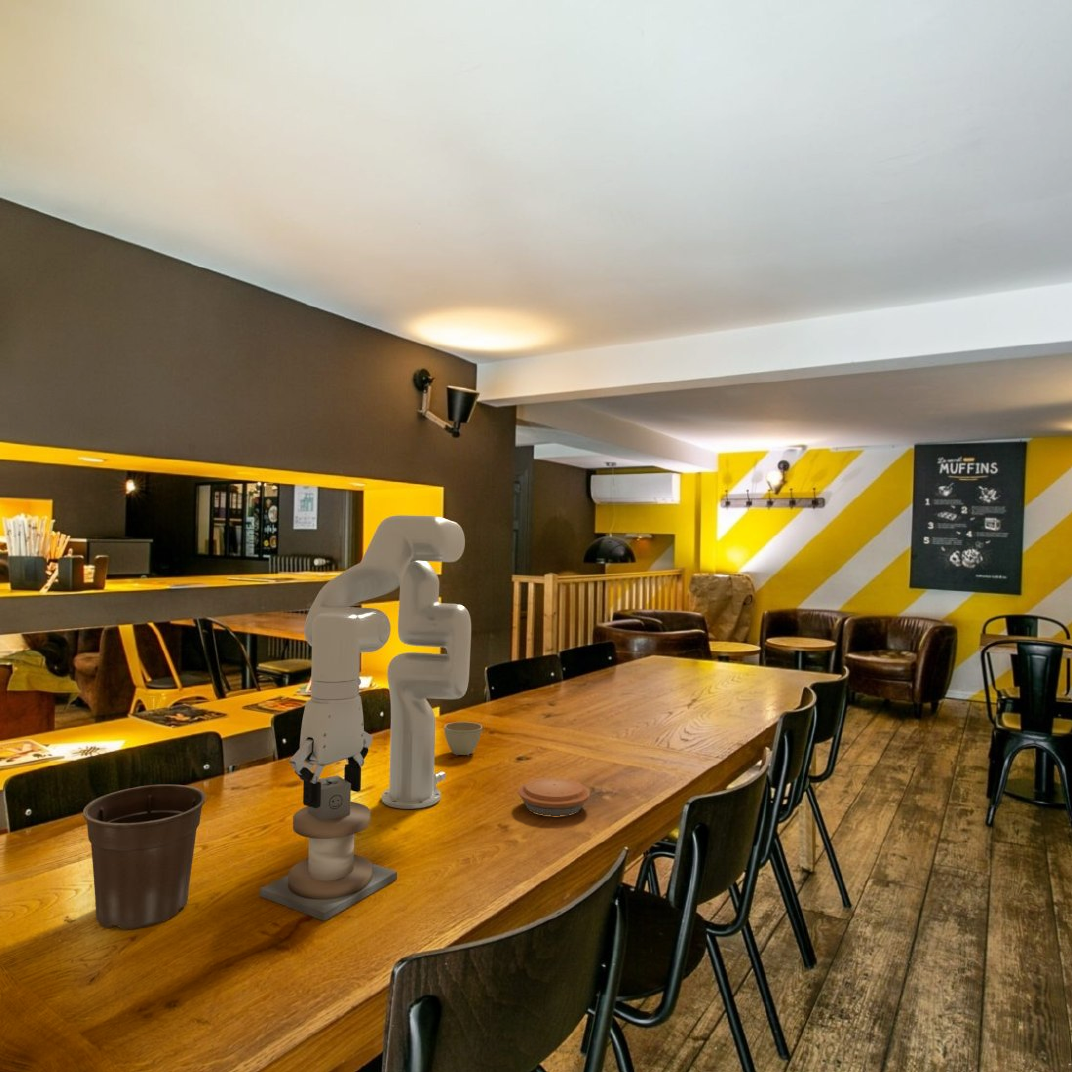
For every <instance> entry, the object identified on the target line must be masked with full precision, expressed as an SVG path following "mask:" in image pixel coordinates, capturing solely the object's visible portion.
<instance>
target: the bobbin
mask: <svg viewBox="0 0 1072 1072" xmlns="http://www.w3.org/2000/svg"><path fill="white" fill-rule="evenodd" d="M370 824H371V809H370V808H369V807H368V806H366V805H365V804H362V803H359V802H356V801H350V815H346V816H342V817H338V818H334V819H329V820H325V821H321V822H320V821H319V820H318V819H316V818H315V817H314V816H312V815H311V814H310V813H309V812H308V806H305V807H302V808H300V809H299V810H298V811H296V812H295V813H294V815H293V816H292V830H293V831H294V833H295V834H297V835H299V836H301V837H304V838H308V858H306V859H304V860H302V861H300V862H297V863H296V864H295V865H294V866H292V867H291V868H290V870H289V872H288V874H287V875H286V876H283V877H281V878H279V879H277V880H275V881H273V882H270V883H268V884H267V885H265V886H263V887H260V888H259V896H260V897H262V898H263V899H266V900H269V901H270V902H275V903H276V904H280V905H281V906H284V907H286V908H290V909H292V910H295V911H297V912H299V913H302V914H304V915H308V916H310V917H313V918H315V919H318V920H320V921H323V922H326V921H328V920H329V919H331V918H332V917H334V916H336V915H337V914H339V913H341V912H342V911H344V910H346V909H348V908H350V907H352V906H353V905H355V904H356V903H358V902H360V901H362V900H364V899H365V898H367V897H368V896H370V895H372V894H374V893H376V892H377V891H379V890H380V889H382V888H384V887H386V886H387V885H389V884H390V883H393V882H394V881H396V880H397V879H398V871H396V870H393V869H390V868H387V867H384V866H381V865H378V864H376V863H375V864H374V863H372V862H371V861H370V860H369V859H367V857H364V856H361V855H358V854H354V852H355V850H354V849H355V834H358V833H360V832H362V831H364V830H366V829H367V828H368V826H370Z"/></svg>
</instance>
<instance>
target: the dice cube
mask: <svg viewBox="0 0 1072 1072" xmlns="http://www.w3.org/2000/svg"><path fill="white" fill-rule="evenodd" d="M318 782H321V804H320V807H319V808H313V807H309V806H308V812H309V813H310V814H311V815H312V816H314V817H315V818H316V819H318V820H319V821H320V822H321V821H325V820H329V819H334V818H338V817H342V816H346V815H350V802H351V800H352V799H351V798H352V797H351V792H352V791H351V783H349V782H348V781H346V780H344V778H343V777H341V776H339V775H333V776H328V777H323V778H319V779H318Z"/></svg>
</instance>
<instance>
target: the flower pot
mask: <svg viewBox="0 0 1072 1072" xmlns="http://www.w3.org/2000/svg"><path fill="white" fill-rule="evenodd" d="M443 727H444V728H443V729H444V736H445V739H446V743H447V745H448V747H449V749H450V751H451V752H452V754H453V755H454V754H455V755H454V756H458V755H467V756H470V755H469V754H471V753H472V754H473V753H474V751H475V749H477V745H478V744H479V741H480V738H481V735H482V730H483V726H482V724H479V723H477V722H470V721H457V722H455V721H454V722H450V723H446V724H445V725H444V726H443ZM472 754H471V755H472Z"/></svg>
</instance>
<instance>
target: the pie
mask: <svg viewBox="0 0 1072 1072" xmlns="http://www.w3.org/2000/svg"><path fill="white" fill-rule="evenodd" d="M517 794H518V795H519V797H520V799H522V801H523V803H524V805H525V806H527V807H526V808H527V809H529V810H531V811H532V812H535V813H538V814H543V815H551V816H560V815H569V814H572V813H575V812H577V811H579V812H580V810H581V809H582V808H583V805H584V804H585V803H586V802H587V801H588V799H589V798H590V795H591V790H590V789H589V788H588V787H586V786H585V785H584V784H582V783H581V782H578V781H577V780H573V779H570V778H566V777H565V778H564V777H559V776H558V777H556V776H548V777H547V776H546V777H538V778H534V779H531V780H529V781H527V782H525V783H523V784H521V785H520V786H519V787H518V788H517ZM529 810H528V811H529ZM531 811H530V812H531ZM532 812H531V813H532ZM577 813H578V812H577Z"/></svg>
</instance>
